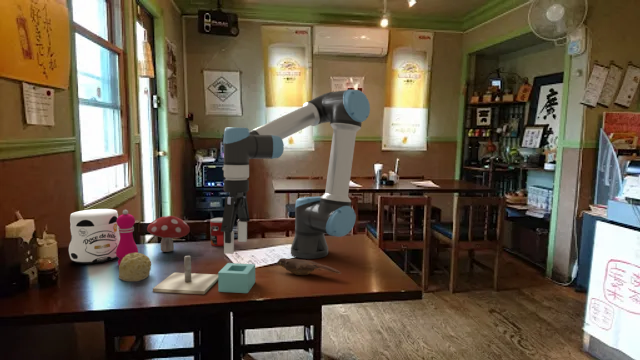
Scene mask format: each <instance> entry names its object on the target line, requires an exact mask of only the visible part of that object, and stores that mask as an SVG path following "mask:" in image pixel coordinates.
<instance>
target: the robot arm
mask: <svg viewBox="0 0 640 360" xmlns="http://www.w3.org/2000/svg"><path fill="white" fill-rule="evenodd" d="M370 112H371V105H370V102H369V99H368V97H367V95H366V94H365V93H364V92H363V91H362V90H359V89H345V90H337V91H329V92H326V93H323V94H322V95H319V96H317V97H315V98H312V99H310V100H308V101H307V102H304V103H303V105H302V107H300V108H298V109H295V110H293V111H291V112H289V113H286V114H285V115H282V116H281V117H278V118H276V119H275V118H274V119H273V120H272V121H269V122H266V123H264V124H262V125H260V126H258V127H256V128H254V129H253V128H252V130H249V128H248V127H234V126H233V127H225V128H224V132H223V141H222V144H223V167H222V168H221V169H222V171H223V178H224V179H223V191H224V192H225V193H228V194H229V195H228V196H225V198H224V208H223V214H222V218H223V220H222V226H221V232H224V246H223V254H227V255H228V254H231V255H234V253H235V230H234V226H235V221H236V218H238V222H237V231H238V232H237V236H238V237H237V241H238V242H242V243H247V242H248V222H250V221H251V219H250V213H249V207H248V200H247V193H248V191H250V187H249V186H250V180H249V179H248V178H249V177H250V160H253V159H257V160H262V159H264V160H266V159H267V160H268V159H271V160H273V159H279V158H281V156H282V155H283V153H284V151H285V150H284V149H285V148H284V147H285V145H284V144H285V143H284V139H286V138H288V137H290V136H292V135H294V134H296V133H297V132H300V131H302V130H304V129H306V128H309V127H310V126H311V127H316V126H318V125H320V124H326V123H329V125H330V127H331V128H332V130H333V131H332V137H331V146H330V155H329V161H328V168H327V177H326V183H325V192H324V194H323V195H321V196H320V195H319V196H318V195H317V196H305V197H304V196H303V197H299V198H297V199H296V200H295V205H294V218H295V219H294V225H295V227H294V237H293V240H292V243H291V247H290V254H292V255H291V256H293V255H294V256H293V257H295V256H296V257H295V258H297V259H303V260H306V259H307V260H313V259H315V260H316V259H321V258H322V259H323V258H325V257H327V256H328V255H329V246H328V243H327V240H326V237H325V234H327V235H329V236H332V237H340V238H341V237H345V236H347V235H348V234H349V233H350V232H351V231H352V230H353V229H354V226H355V223H356V219H357V215H356V212H355V210H354V208H352V206H351V205H352V200H351V198H350V197H349V191H350V190H349V189H350V182H351V177H352V176H351V175H352V169H353V168H352V167H353V159H354V154H355V145H356V137H357V132H358V131H360V130H362V129H361V128H362V124H363V122H365V121H366V120H367V119H368V118H369V116H370ZM233 230H234V231H233Z"/></svg>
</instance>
